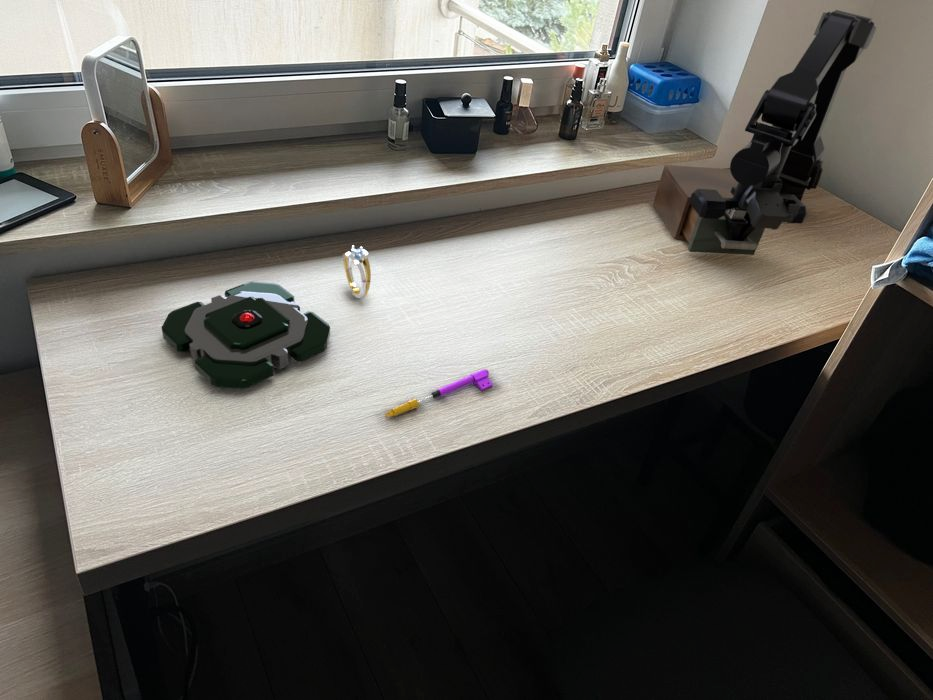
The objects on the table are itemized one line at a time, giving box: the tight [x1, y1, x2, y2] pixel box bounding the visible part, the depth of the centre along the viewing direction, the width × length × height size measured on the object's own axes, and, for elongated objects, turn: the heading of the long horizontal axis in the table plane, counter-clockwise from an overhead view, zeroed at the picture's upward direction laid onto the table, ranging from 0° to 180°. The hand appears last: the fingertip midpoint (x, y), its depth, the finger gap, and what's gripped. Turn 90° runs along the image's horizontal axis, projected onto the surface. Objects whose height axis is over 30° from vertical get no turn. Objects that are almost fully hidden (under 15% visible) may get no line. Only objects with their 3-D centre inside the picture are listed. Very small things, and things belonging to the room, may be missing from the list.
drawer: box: [681, 204, 766, 256], centre depth 131 cm, size 17×12×7 cm
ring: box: [342, 245, 372, 299], centre depth 106 cm, size 7×3×8 cm, turn 27°
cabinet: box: [652, 164, 738, 241], centre depth 138 cm, size 14×14×9 cm
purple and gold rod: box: [384, 369, 494, 419], centre depth 92 cm, size 3×1×16 cm
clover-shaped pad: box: [161, 281, 331, 390], centre depth 96 cm, size 18×18×5 cm
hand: (731, 249), depth 127 cm, fingers closed, pressing on drawer
